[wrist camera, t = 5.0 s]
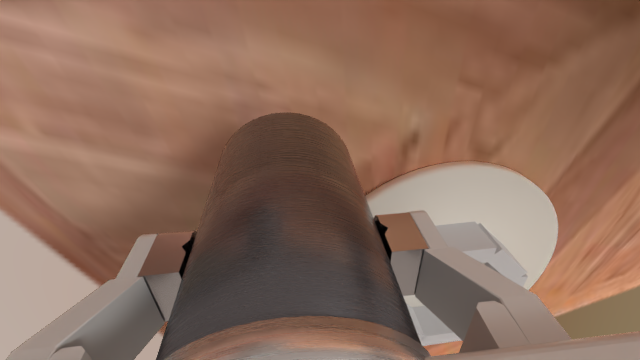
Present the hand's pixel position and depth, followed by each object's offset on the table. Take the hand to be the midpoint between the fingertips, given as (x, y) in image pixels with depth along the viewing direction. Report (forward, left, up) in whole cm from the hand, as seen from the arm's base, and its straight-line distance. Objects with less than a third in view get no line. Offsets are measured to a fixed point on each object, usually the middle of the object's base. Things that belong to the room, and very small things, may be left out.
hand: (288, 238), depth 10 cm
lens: (0, 0, -4) cm, 4 cm away
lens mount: (-10, +12, -9) cm, 18 cm away
